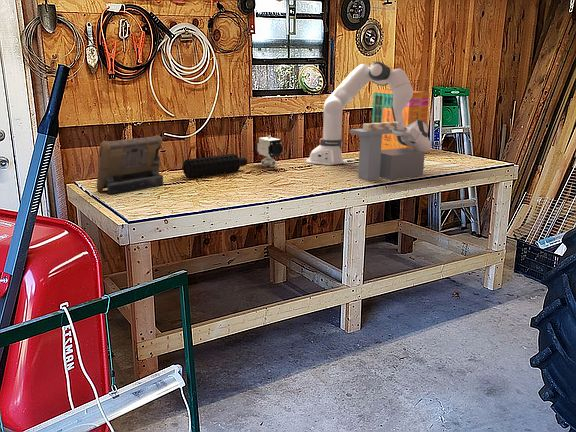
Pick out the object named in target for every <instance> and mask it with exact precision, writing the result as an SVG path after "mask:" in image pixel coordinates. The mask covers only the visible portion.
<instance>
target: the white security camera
mask: <svg viewBox="0 0 576 432" xmlns="http://www.w3.org/2000/svg"><path fill="white" fill-rule="evenodd" d="M283 146H284V145H282V139H280V138H275V137H272V136H271V135H268V136H261V137H257V142H256V152H257V154H258V155H261V156H264V158H263V159H261V163H260V164H261V166H262V167H270V168H274V167H276V165H277V161H276V160H275V159H274V158H277V157H282V152H283V149H284V148H283Z"/></svg>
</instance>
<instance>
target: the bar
mask: <svg viewBox="0 0 576 432" xmlns="http://www.w3.org/2000/svg"><path fill="white" fill-rule="evenodd" d="M395 124H399V125H401V122H382V123H372V122H370V123H369V122H367V123H362V129H363V130H381V129H394V128H396V127H395Z"/></svg>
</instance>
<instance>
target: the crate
mask: <svg viewBox="0 0 576 432" xmlns="http://www.w3.org/2000/svg"><path fill="white" fill-rule="evenodd" d="M425 154H426V152H422V151H417V150H413V149H408V148H398V149H387V150H381V161H380V178H383V179H386V180H389V181H393V180H400V179H408V177H409V178H416V177H415V176H417V177H422V175H423V176H424V169H425Z"/></svg>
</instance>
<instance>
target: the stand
mask: <svg viewBox="0 0 576 432" xmlns="http://www.w3.org/2000/svg"><path fill="white" fill-rule="evenodd" d="M349 134H351V135H356V136H359V152H358V153H359V154H358V174H357V175H358V176H357V178H358V179H360V180H364V181H367V182H369V181H376V180H377V181H378V180H380V178H381V177H380V161H381V143H382V134H392V129H381V130H363V128H355V129H354V128H353V129H349Z"/></svg>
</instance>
